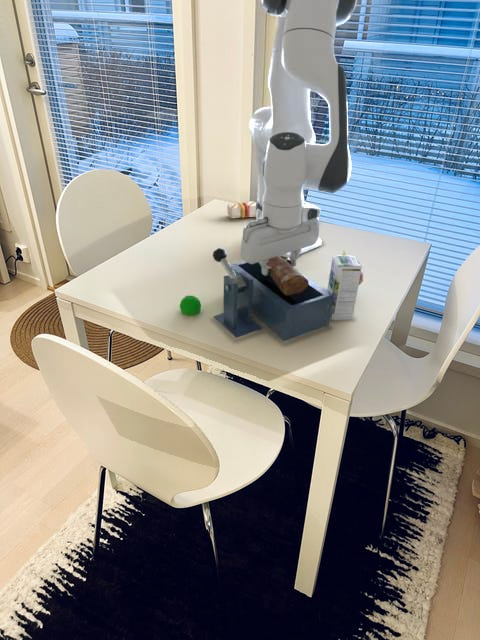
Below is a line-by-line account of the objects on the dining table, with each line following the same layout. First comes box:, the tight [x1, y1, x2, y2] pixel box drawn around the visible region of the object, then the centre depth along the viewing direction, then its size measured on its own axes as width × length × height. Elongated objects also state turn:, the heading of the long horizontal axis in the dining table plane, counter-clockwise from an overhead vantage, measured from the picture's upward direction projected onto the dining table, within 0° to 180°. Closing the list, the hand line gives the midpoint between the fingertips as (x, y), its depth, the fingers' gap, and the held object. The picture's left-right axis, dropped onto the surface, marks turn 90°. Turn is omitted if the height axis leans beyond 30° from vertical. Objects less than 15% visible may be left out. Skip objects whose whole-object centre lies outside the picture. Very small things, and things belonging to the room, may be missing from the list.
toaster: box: [228, 260, 334, 342], centre depth 120 cm, size 13×24×9 cm, turn 32°
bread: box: [266, 256, 309, 295], centre depth 116 cm, size 6×19×6 cm, turn 17°
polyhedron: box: [179, 295, 202, 316], centre depth 120 cm, size 5×5×5 cm
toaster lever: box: [212, 247, 247, 293], centre depth 113 cm, size 12×3×3 cm, turn 32°
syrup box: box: [326, 254, 363, 321], centre depth 119 cm, size 6×6×14 cm
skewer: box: [226, 200, 256, 219], centre depth 175 cm, size 21×6×5 cm, turn 109°
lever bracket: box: [213, 271, 263, 338], centre depth 114 cm, size 10×7×13 cm
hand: (278, 270), depth 117 cm, fingers closed on bread, 6 cm apart
